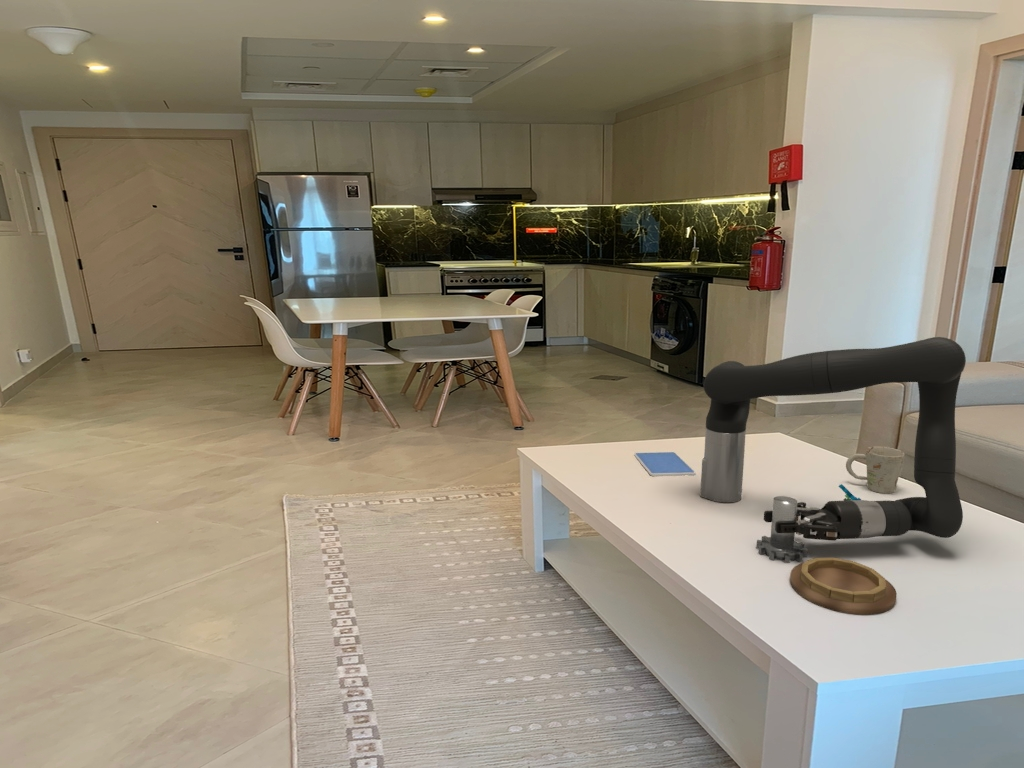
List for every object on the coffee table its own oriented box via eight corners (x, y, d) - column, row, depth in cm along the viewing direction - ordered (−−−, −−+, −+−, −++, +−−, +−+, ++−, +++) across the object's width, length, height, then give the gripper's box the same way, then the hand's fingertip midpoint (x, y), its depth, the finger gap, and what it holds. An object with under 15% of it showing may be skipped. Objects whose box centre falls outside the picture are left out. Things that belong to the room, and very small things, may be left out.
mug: (899, 497, 161) (903, 458, 159) (842, 488, 167) (845, 450, 165) (900, 487, 168) (905, 449, 166) (845, 478, 174) (849, 442, 172)
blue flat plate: (633, 456, 196) (633, 452, 196) (674, 455, 197) (675, 451, 197) (650, 478, 177) (650, 473, 177) (696, 477, 178) (697, 472, 178)
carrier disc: (786, 600, 115) (787, 586, 114) (793, 559, 130) (794, 546, 129) (898, 624, 107) (900, 609, 107) (893, 578, 122) (894, 564, 122)
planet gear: (753, 556, 131) (757, 504, 129) (759, 538, 139) (762, 489, 137) (805, 566, 127) (810, 512, 125) (808, 547, 135) (812, 496, 133)
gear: (883, 522, 143) (849, 487, 144) (861, 539, 144) (827, 504, 146) (869, 509, 154) (838, 477, 155) (849, 525, 155) (818, 493, 156)
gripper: (836, 488, 139) (756, 491, 138) (876, 515, 125) (788, 518, 124) (832, 522, 140) (754, 524, 139) (872, 552, 126) (785, 555, 125)
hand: (770, 522), depth 132 cm, fingers open, 4 cm apart
